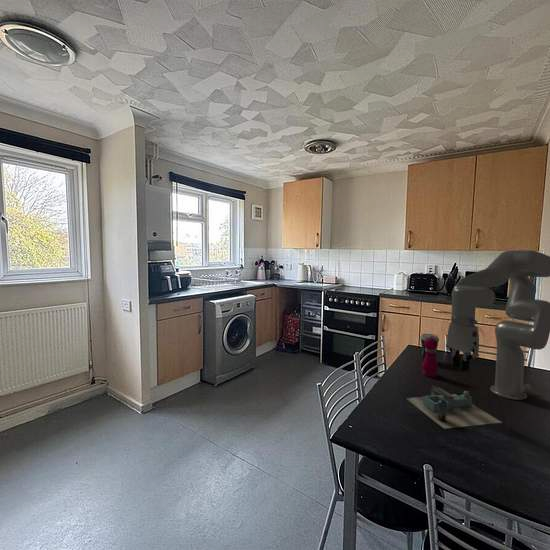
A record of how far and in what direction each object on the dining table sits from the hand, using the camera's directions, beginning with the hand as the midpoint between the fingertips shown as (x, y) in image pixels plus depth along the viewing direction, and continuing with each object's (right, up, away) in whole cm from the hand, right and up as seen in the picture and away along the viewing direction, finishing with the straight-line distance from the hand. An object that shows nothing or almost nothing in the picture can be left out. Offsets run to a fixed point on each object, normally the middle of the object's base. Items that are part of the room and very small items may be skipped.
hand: (460, 368), depth 115 cm
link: (-2, -15, +3) cm, 16 cm away
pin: (-11, -16, -6) cm, 21 cm away
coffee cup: (+16, -14, +56) cm, 60 cm away
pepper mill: (+7, -15, +37) cm, 41 cm away
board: (-3, -17, +1) cm, 18 cm away
